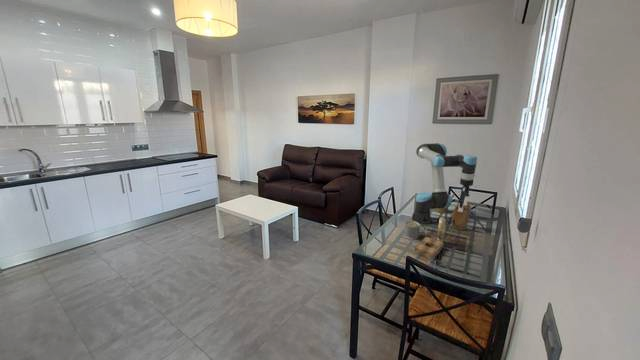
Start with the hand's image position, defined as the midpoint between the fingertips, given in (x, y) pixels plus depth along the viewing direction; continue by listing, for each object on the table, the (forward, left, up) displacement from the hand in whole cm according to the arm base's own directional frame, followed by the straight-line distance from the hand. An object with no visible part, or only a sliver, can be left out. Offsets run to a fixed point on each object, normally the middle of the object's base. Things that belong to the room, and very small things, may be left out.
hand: (462, 208), depth 176 cm
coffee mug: (-25, -17, -24) cm, 39 cm away
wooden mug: (-22, +43, -24) cm, 54 cm away
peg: (-8, -12, -24) cm, 28 cm away
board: (-10, -27, -24) cm, 38 cm away
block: (-4, +19, -24) cm, 31 cm away
